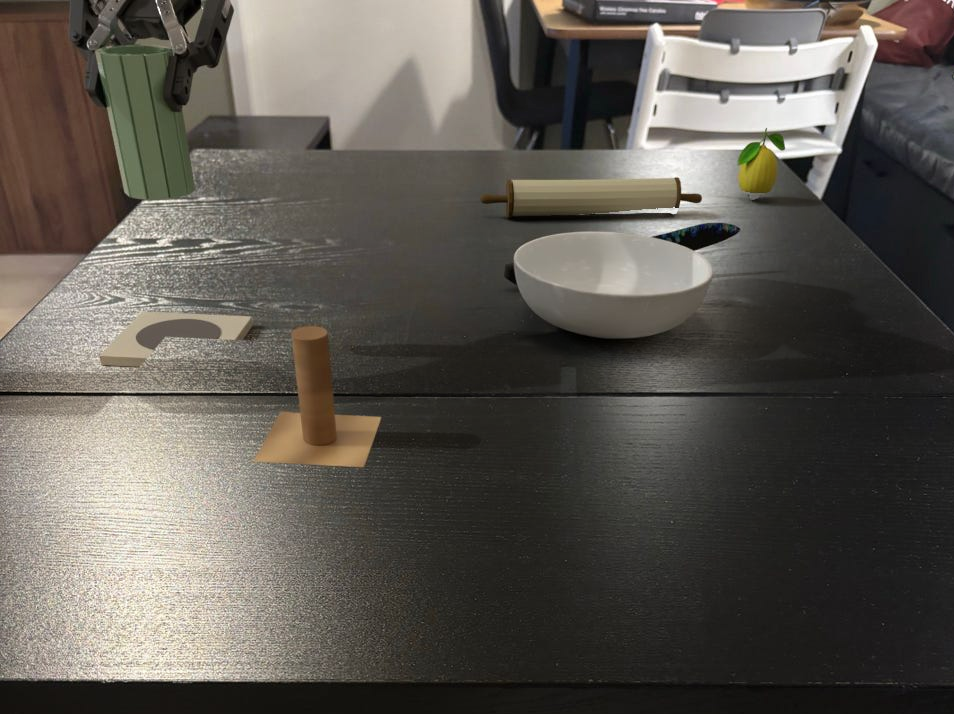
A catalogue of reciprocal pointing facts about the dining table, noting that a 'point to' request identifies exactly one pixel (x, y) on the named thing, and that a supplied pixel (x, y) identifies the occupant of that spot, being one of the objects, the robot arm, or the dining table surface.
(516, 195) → the rolling pin
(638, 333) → the serving bowl
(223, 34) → the robot arm
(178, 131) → the ceramic tube
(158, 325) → the plate
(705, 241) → the knife
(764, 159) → the lemon
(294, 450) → the peg stand
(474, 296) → the dining table surface
